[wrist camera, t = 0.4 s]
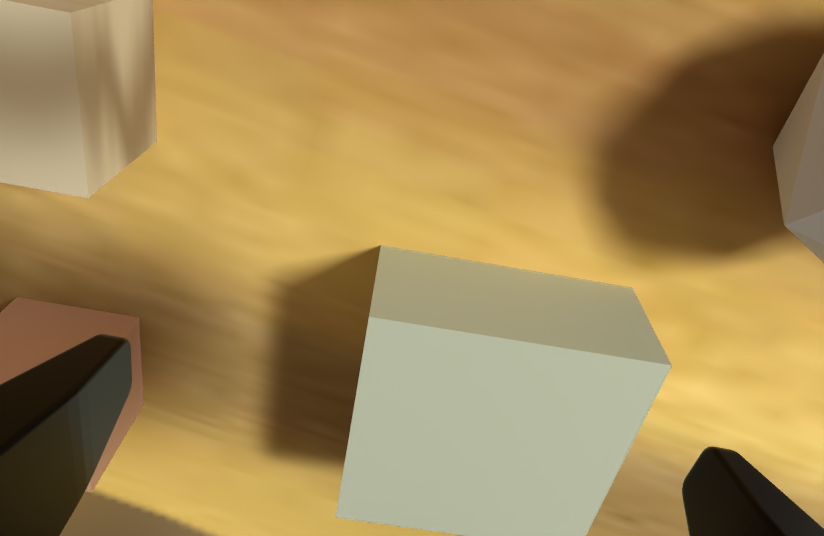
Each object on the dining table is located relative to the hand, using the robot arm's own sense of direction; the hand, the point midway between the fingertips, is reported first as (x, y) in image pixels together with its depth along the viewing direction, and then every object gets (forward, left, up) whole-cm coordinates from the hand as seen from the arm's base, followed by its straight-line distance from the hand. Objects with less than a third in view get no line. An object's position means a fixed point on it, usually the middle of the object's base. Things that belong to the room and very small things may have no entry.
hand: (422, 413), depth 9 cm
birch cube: (0, +12, -14) cm, 18 cm away
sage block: (-10, -4, -14) cm, 17 cm away
